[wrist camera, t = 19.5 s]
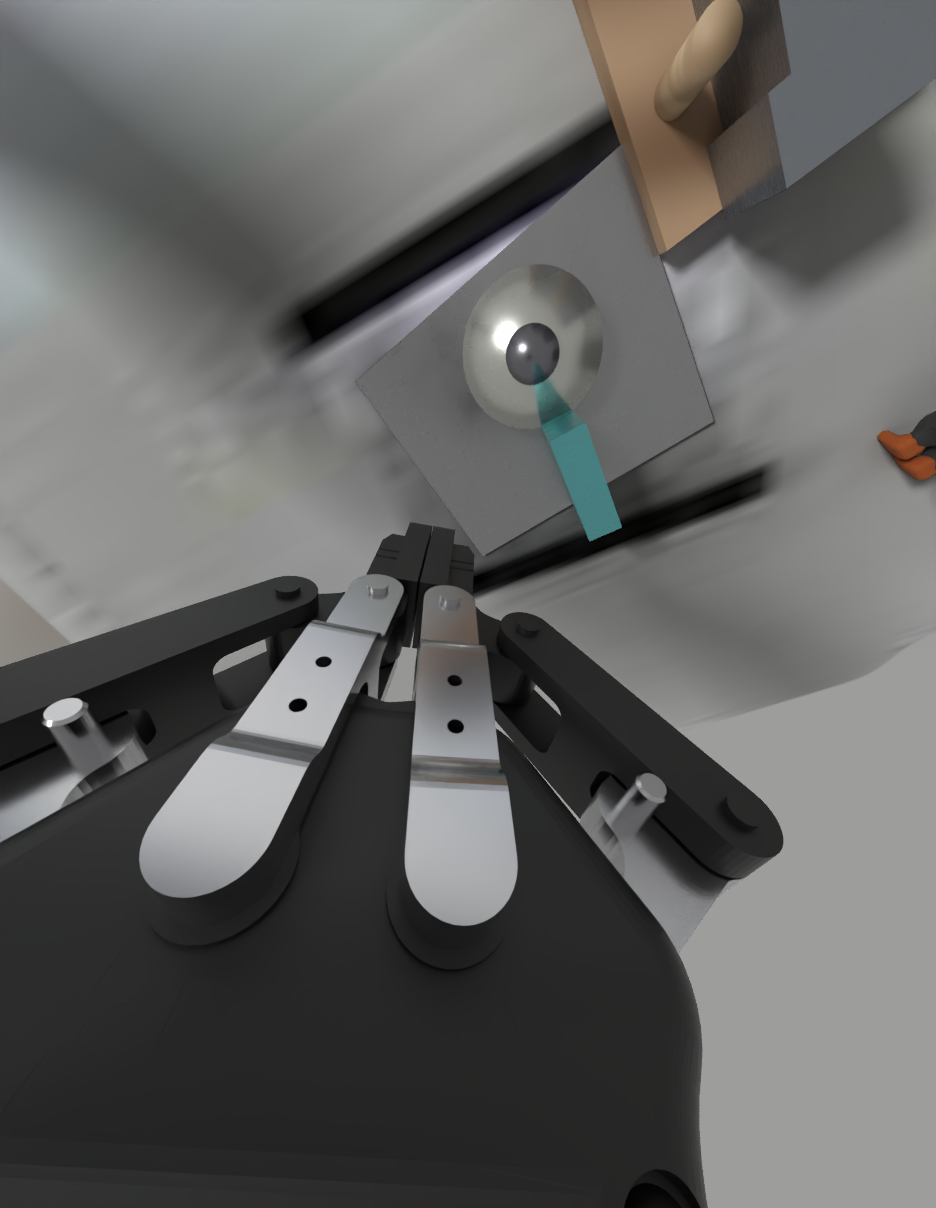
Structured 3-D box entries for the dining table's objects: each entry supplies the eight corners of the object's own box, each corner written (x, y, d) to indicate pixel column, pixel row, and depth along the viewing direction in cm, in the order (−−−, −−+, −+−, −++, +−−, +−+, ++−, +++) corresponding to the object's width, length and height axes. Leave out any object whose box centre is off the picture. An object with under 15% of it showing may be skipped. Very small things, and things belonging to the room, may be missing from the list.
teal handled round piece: (535, 523, 30) (543, 561, 25) (439, 321, 23) (425, 317, 18) (641, 474, 28) (674, 505, 23) (569, 232, 21) (593, 200, 16)
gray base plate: (356, 381, 26) (355, 381, 26) (620, 145, 20) (622, 143, 19) (482, 554, 32) (482, 556, 32) (711, 420, 26) (713, 421, 26)
